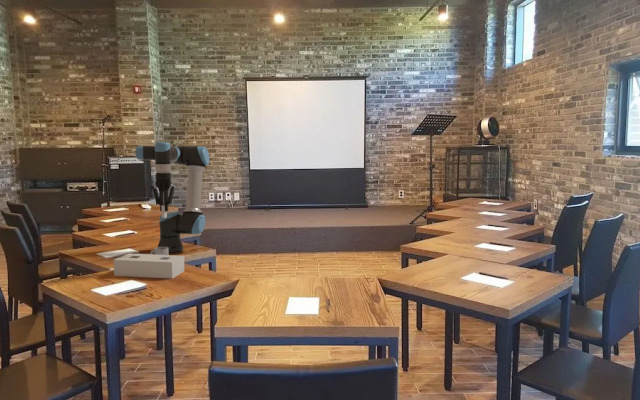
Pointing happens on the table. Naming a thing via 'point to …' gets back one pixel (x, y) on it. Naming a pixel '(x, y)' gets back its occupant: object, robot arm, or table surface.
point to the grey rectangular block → (149, 266)
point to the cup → (160, 251)
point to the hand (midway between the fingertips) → (164, 217)
